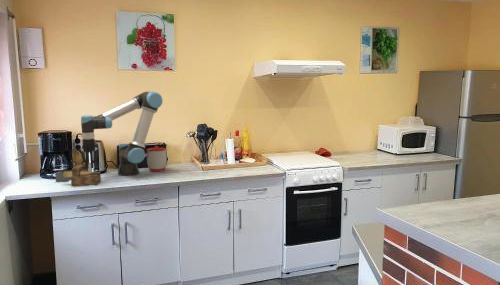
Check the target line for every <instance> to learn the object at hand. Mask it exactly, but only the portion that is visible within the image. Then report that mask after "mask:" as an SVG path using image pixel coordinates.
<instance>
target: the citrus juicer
mask: <svg viewBox="0 0 500 285" xmlns="http://www.w3.org/2000/svg"><path fill="white" fill-rule="evenodd" d="M145 150H146V152H145V157H146V163H147V164H146V165H147V167H148V169H149V172H153V173H155V172H164V171H165V169H166V166H167V159H168V158H167V148H165V147H160V146H158V145H155V146H154V147H150V148H145Z"/></svg>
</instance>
